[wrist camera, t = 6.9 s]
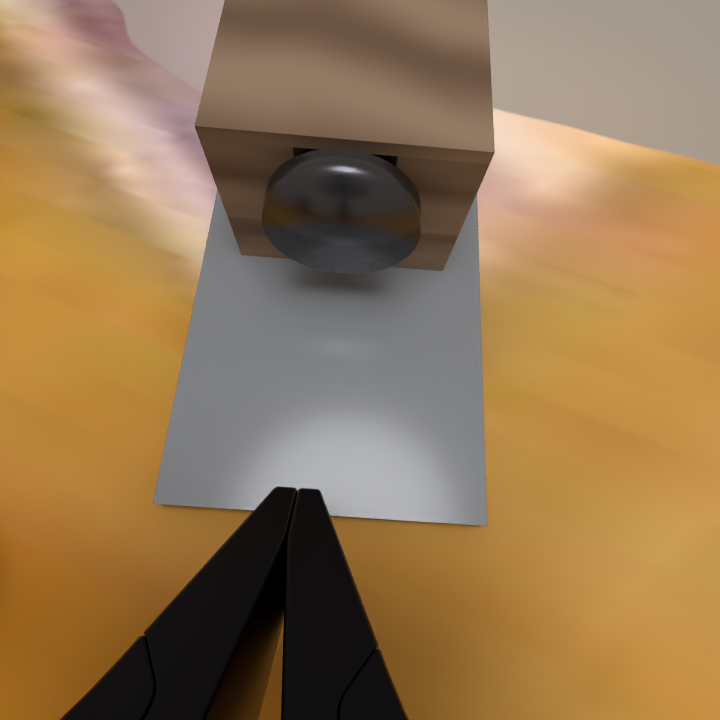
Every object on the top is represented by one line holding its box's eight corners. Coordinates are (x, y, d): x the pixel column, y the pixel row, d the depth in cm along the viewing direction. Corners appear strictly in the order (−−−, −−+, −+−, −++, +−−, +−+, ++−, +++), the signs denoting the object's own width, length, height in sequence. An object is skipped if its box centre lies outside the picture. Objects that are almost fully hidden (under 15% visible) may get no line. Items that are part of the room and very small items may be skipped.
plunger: (407, 278, 21) (435, 184, 15) (272, 268, 21) (247, 168, 15) (412, 110, 25) (437, -20, 19) (297, 100, 25) (284, -35, 19)
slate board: (480, 525, 21) (487, 525, 20) (161, 504, 21) (152, 503, 20) (470, 145, 29) (475, 133, 28) (237, 125, 28) (233, 111, 28)
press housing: (442, 271, 25) (494, 152, 17) (241, 254, 24) (194, 125, 16) (443, 130, 28) (486, -26, 20) (265, 114, 28) (236, -50, 20)
